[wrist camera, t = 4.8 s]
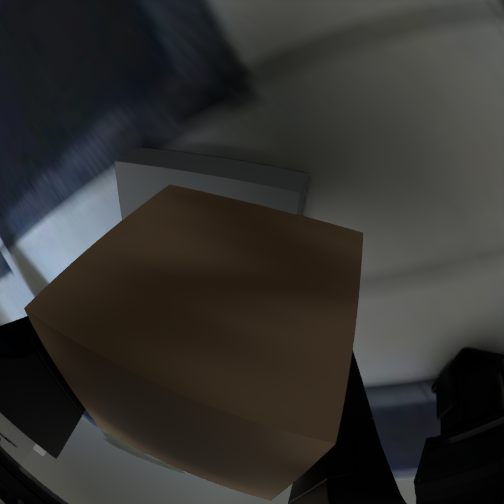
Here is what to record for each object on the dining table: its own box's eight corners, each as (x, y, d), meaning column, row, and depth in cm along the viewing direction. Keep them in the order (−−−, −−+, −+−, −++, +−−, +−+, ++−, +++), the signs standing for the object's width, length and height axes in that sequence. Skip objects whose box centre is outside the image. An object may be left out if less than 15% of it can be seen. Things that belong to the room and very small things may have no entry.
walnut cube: (362, 232, 8) (335, 443, 4) (314, 359, 12) (270, 500, 7) (169, 184, 10) (24, 308, 5) (176, 314, 13) (100, 428, 9)
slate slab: (309, 173, 18) (300, 192, 16) (284, 314, 25) (274, 342, 23) (141, 147, 21) (114, 161, 19) (155, 276, 28) (137, 297, 26)
